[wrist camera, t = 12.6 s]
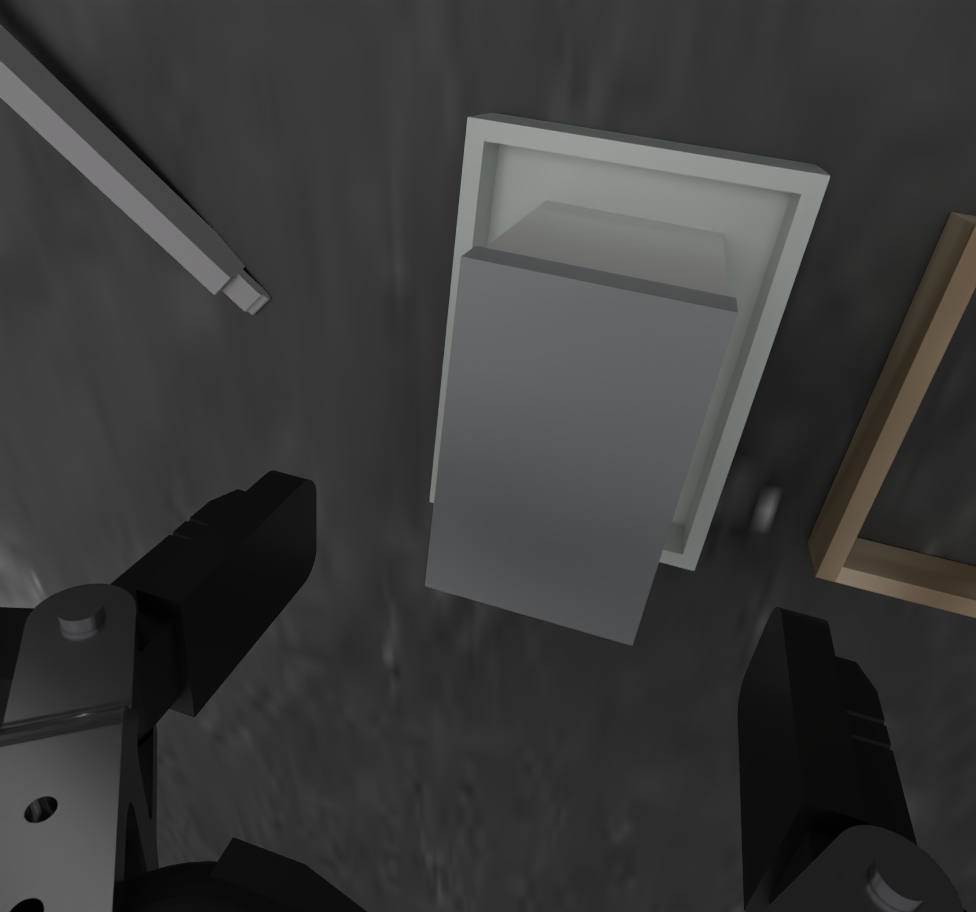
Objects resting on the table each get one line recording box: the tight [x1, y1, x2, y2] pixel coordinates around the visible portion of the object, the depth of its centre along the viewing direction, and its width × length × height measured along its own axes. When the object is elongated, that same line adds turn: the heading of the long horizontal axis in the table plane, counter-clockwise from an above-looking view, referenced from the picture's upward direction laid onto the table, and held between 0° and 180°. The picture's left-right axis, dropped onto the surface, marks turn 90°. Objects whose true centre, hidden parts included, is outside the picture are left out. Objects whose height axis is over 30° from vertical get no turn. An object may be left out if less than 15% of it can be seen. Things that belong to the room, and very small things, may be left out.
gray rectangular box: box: [425, 200, 738, 646], centre depth 19 cm, size 5×8×8 cm, turn 171°
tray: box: [429, 113, 830, 571], centre depth 22 cm, size 9×12×2 cm
